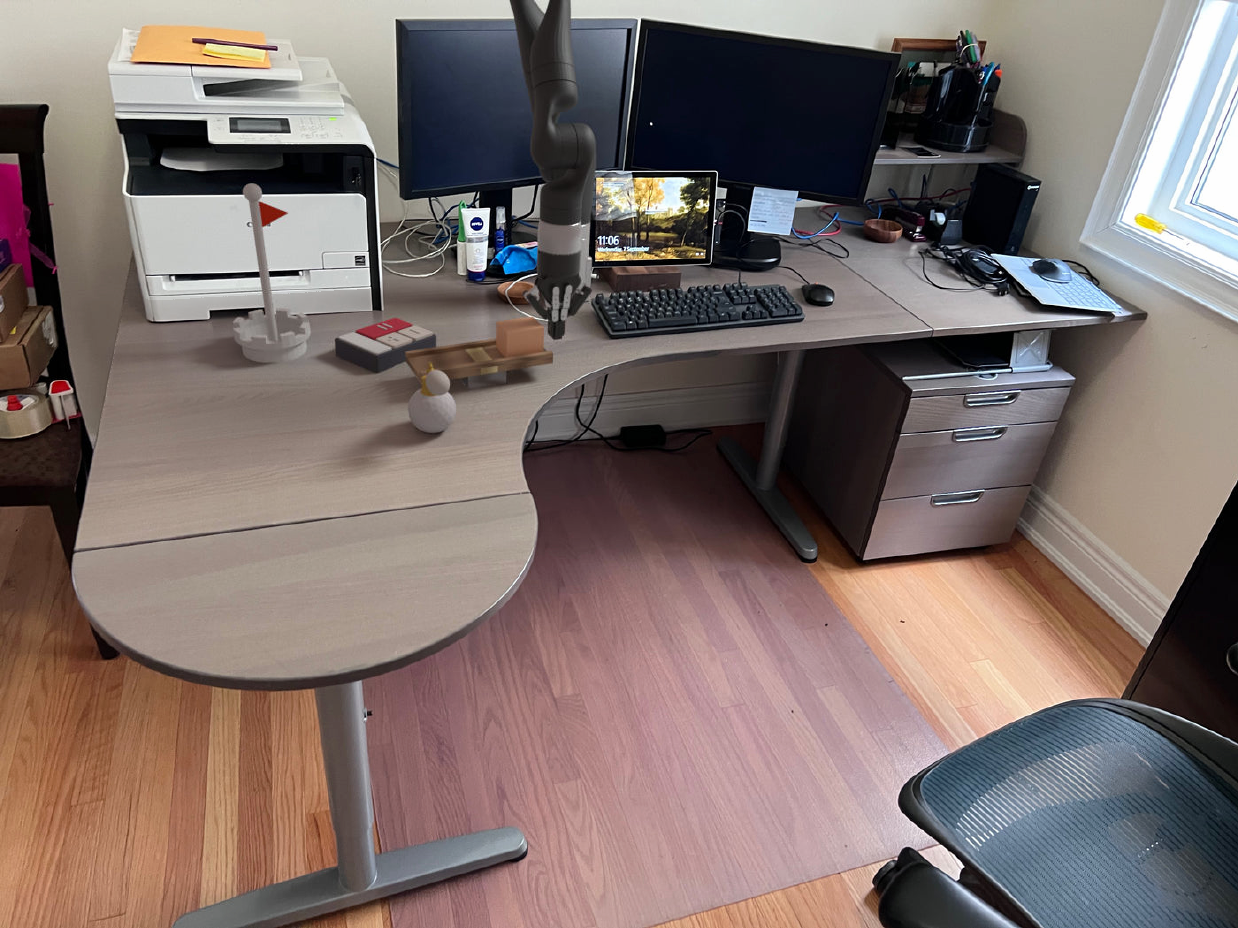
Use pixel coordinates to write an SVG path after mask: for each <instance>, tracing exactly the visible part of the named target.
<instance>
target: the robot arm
mask: <svg viewBox="0 0 1238 928" xmlns="http://www.w3.org/2000/svg"><path fill="white" fill-rule="evenodd" d="M571 2H572V1H571V0H548V3H547V8H546V9H545V12H544V11H543V10H542V9H541V8H540V7H539V5H538V4H537V2H536V1H535V0H509V4H510V8H511V12H512V16H513V20H514V23H515V24H514V26H515V30H516V36H517V41H518V49H519V55H520V61H521V67H522V71H523V75H524V76H523V77H524V81H525V86H526V89H527V94H528V99H529V104H530V108H531V114H532V121H533V123H532V129H531V130H532V131H531V135H530V144H529V145H530V146H529V150H530V156H531V158H532V160H533V163H534V164H535V165H536V166H537V167H538V170H539V173H540V176H541V179H542V180H543V181H544V182H545V183H544V184H543V185H542V186H541V188H540V193H539V194H540V195H539V218H538V219H539V220H538V228H537V244H536V245H537V247H536V251H537V252H536V273H537V274H536V277H535V279H534V282H533V283H534V285H533V287H532V288H530V289H529V290H523V292H522V296H523V298H524V299H525V300H526V301H527V302H528V303H529V304H530V306H531V307H532V308H533V309H534V311H535V312H536V313H537V314H538V315H539V316H540V317H541V318H542V319H543V320H544V321H546V320H547V334H548V336H549V337H551V339H552V340H553V341H557V340H562V339H563V337H564V336H565V334H566V320H567V318H568V317H570V316H571V317H574V316H575V315H576V314H577V313H578V311H579V310H580V308H581V307H582V306H583V305H584V303H585V302H589V301H590V297H591V294H592V293H593V289H592V288H591V285H592V284H591V283H592V265H593V264H592V263H593V259H592V257H591V256H590V255H589V250H590V246H589V245H590V233H591V232H590V230H591V216H592V215H591V214H592V207H593V202H594V201H593V199H594V188H595V179H596V169H597V151H596V150H597V140H596V137H595V134H594V132H593V130H592V129H591V127H590V126H589V125H587V124H586V123H580V122H575V123H574V122H573V123H572V122H569V123H565V122H564V123H562V122H561V123H559V122H558V121H559V117H560V116H561V114H562V113H565V112H568V111H570V110H572V109H574V108H575V107H576V106H577V103H578V101H579V94H578V86H577V77H576V70H575V69H576V68H575V61H574V56H573V45H572V4H571ZM539 294H540V295H539ZM540 296H542V298H543V300H544V304H545V306H546V307H544V306H543V305H541V303H540V302H539V300H540ZM545 308H546V309H545Z"/></svg>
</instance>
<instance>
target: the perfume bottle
mask: <svg viewBox="0 0 1238 928" xmlns="http://www.w3.org/2000/svg"><path fill="white" fill-rule="evenodd" d="M432 367H433V366H432V364H431V362H429V364H428V368H427V370H426V372H427V375H425V376H423V377H422V384H421V388H419V389H418V390H416V391H415V392H414V393H413V394H412V395H411V398H410V399H409V401H408V405H407V406H408V407H407V412H408V417H409V420H410V421H411V423H412V424H413V425H414V427H416V428H417V429H418V430H419V431H422V432H424V433H427V434H434V433H440V432H443V431H445V430H447V429H448V428H450V426H451V425H452V424H453V422H454V420H455V418H456V413H457V406H456V402H455V400H454V397H453V396H452V394H451V393H450V392H449V391H450V388H451V387H450V386H451V380H449V378H448V377H447V375H446V374H444V373H443V372H441V371H439V370H434V369H433V368H432Z"/></svg>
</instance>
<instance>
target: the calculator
mask: <svg viewBox="0 0 1238 928" xmlns="http://www.w3.org/2000/svg"><path fill="white" fill-rule="evenodd" d="M334 345H335V346H334V349H335V356H336V357H337V358H339V359H342V360H344V361H345V362H348V363H350V364H353V365H355V366H358V367H359V368H363V369H365V370H366V371H369V372H372V373H373V374H380V373H382V372H385V371H387V370H389V369H391V368H394V367H395V366H397V365H398V364H399V365H400V364H401V363H405V362H406V355H405V351H412V350H419V349H426V348H433V347H437V335H436V334H435V333H433V331H431V330H428V329H425V328H423V327H421V326H418V325H413V323H411V322H409V321H405V320H403V319H400V318H397V317H393V318H389V319H387V320H384V321H381V322H377V323H374V324H371V325H368V326H364V327H362V328H359V329H356V330H355V331H352V332H349V333H345V334H343V335H339V336H338V337H335V338H334Z"/></svg>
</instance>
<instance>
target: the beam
mask: <svg viewBox="0 0 1238 928" xmlns="http://www.w3.org/2000/svg"><path fill="white" fill-rule="evenodd" d="M405 355H406V361H405V363H406V364H407V366H408V367H409V368H410V370H411V371H412V373H413V374H414V375H415V377H416V378H417V380H418V381H419V382H420V384H421V385H422V377H423V376H425V375H427V372H426V370H427V368H428V364H429V362H431V364H432V366H433V367H432V368H433V369H434V370H439V371H441V372H443V373H444V374H446V375H447V377H448V378H449V380H450V381H452V380H458V379H459V380H460V381H461V382H462V383H463V385H464V386H465V387H466V388H467V390H473V389H480V388H484V387H485V388H486V387H490V386H497V385H502V384H503V385H504V384H507V371H513V370H518V369H519V370H520V369H526V368H530V367H531V368H532V367H537V366H543V365H545V366H546V365H550V364H553V361H554V352H553V351H552V350H546V349H545V347H543V352H539V353H533V354H526V355H520V356H513V357H507V358H505V357H504V355H503V354H502V353H501V352H500V351H499V350H498V349H497V348H496V337H495V338H488V339H483V340H482V339H481V340H476V341H469V342H462V343H455V344H449V345H448V344H447V345H441V346H436V347H433V348H426V349H419V350H412V351H405Z"/></svg>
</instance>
